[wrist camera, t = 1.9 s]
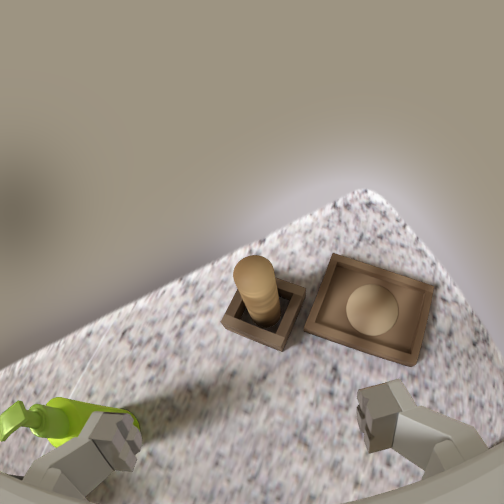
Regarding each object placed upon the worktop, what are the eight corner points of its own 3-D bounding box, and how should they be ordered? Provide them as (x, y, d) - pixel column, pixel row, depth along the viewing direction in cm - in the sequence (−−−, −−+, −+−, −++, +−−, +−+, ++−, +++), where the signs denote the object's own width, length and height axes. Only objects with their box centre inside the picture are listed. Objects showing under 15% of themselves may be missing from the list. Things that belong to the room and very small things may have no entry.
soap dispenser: (93, 425, 36) (-15, 406, 18) (125, 401, 37) (19, 372, 20) (114, 459, 33) (4, 460, 16) (148, 436, 34) (42, 431, 17)
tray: (429, 292, 39) (434, 286, 37) (410, 367, 34) (416, 364, 33) (331, 259, 44) (332, 252, 42) (303, 331, 39) (303, 326, 37)
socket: (305, 297, 41) (305, 288, 39) (282, 351, 38) (280, 346, 36) (251, 277, 44) (248, 267, 41) (225, 328, 41) (220, 322, 38)
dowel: (286, 305, 41) (280, 262, 31) (274, 332, 40) (263, 298, 29) (258, 295, 43) (243, 250, 32) (246, 321, 41) (226, 283, 31)
